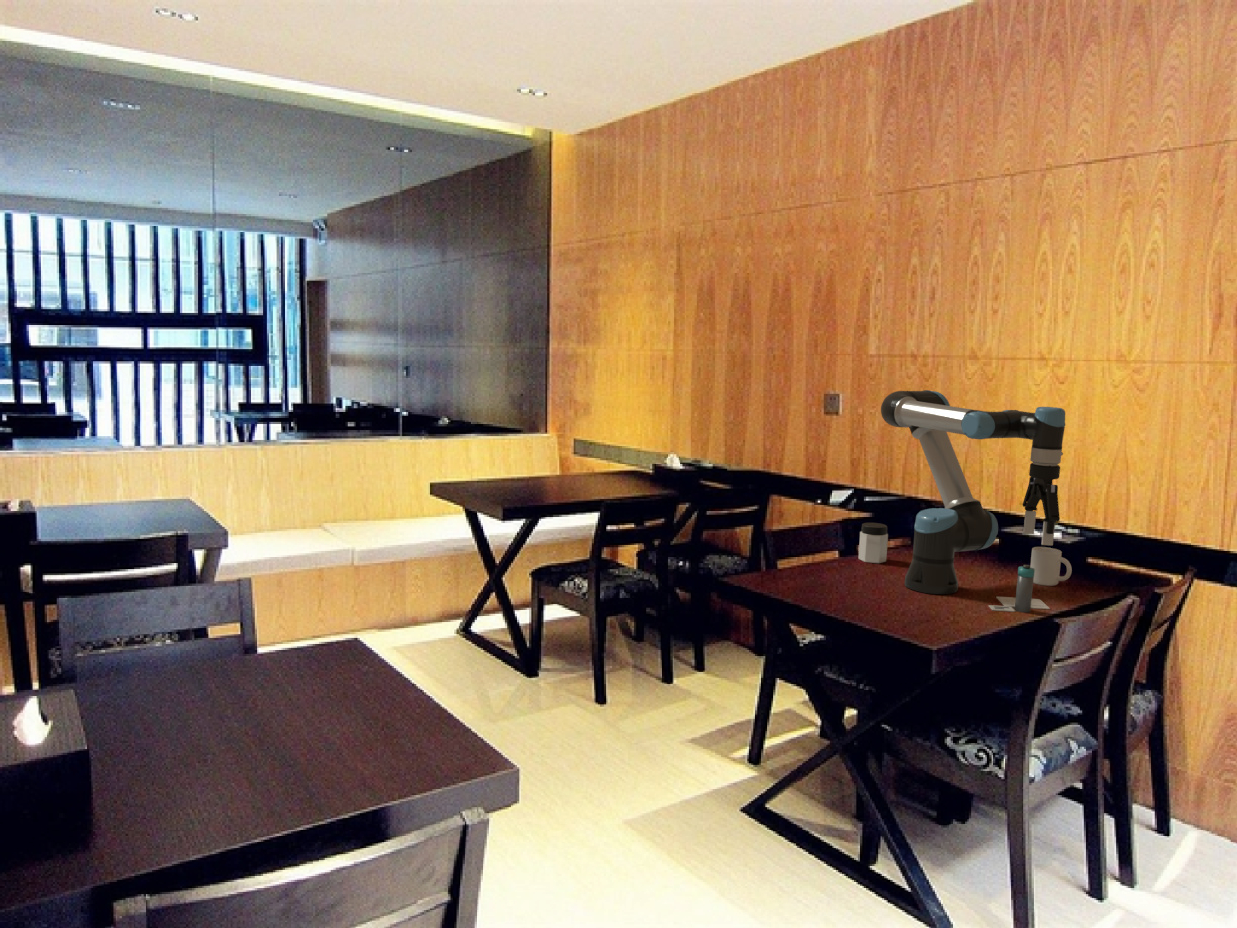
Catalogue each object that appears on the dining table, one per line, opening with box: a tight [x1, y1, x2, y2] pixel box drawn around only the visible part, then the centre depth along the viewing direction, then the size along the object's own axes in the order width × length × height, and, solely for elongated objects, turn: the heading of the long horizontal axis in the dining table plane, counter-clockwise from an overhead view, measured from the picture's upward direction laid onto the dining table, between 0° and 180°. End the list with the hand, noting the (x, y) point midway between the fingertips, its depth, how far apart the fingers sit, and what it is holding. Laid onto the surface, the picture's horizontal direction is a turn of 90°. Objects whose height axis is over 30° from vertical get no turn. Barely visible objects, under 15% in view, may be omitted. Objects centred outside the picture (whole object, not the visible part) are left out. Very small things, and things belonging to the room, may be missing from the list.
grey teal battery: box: [1014, 564, 1035, 614], centre depth 248 cm, size 4×4×13 cm
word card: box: [988, 604, 1016, 613], centre depth 250 cm, size 6×4×1 cm, turn 82°
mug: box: [1029, 546, 1073, 587], centre depth 277 cm, size 12×8×10 cm
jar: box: [858, 522, 889, 564], centre depth 300 cm, size 9×8×12 cm
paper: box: [995, 596, 1051, 610], centre depth 256 cm, size 12×9×1 cm
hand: (1037, 539), depth 250 cm, fingers open, 13 cm apart
